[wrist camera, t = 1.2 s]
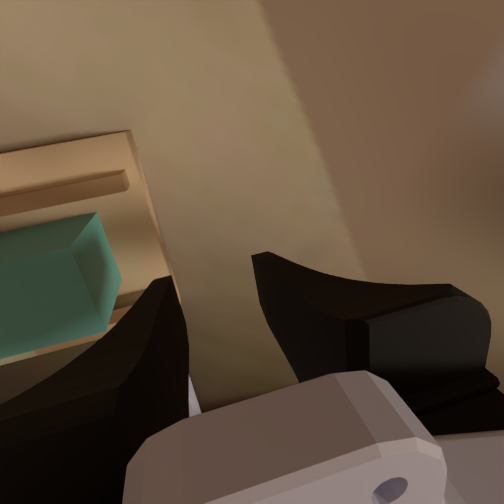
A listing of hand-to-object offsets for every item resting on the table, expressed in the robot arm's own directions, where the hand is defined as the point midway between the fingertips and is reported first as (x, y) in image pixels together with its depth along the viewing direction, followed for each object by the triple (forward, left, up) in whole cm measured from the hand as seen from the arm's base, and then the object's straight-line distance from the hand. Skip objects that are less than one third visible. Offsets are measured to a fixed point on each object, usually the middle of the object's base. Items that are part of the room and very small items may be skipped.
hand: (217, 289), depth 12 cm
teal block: (0, +8, -7) cm, 11 cm away
